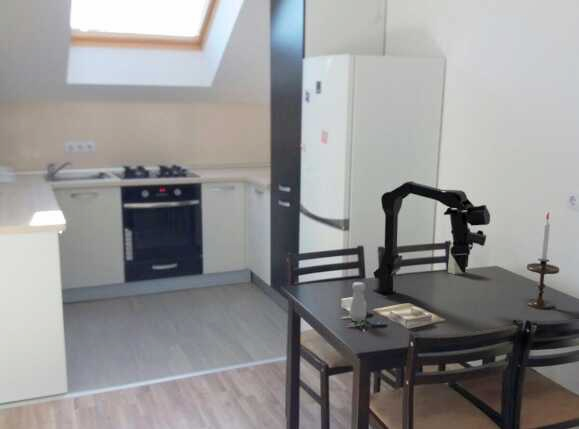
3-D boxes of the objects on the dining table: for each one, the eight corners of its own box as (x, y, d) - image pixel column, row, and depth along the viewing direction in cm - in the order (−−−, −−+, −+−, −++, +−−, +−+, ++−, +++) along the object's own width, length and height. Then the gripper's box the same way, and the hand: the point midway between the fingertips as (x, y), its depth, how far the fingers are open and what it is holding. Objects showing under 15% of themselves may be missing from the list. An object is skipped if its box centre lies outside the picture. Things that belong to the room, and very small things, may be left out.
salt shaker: (365, 323, 198) (366, 286, 196) (348, 322, 199) (349, 285, 197) (366, 317, 204) (368, 281, 201) (350, 316, 205) (351, 280, 202)
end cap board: (373, 310, 210) (373, 302, 210) (408, 304, 218) (409, 296, 217) (407, 328, 194) (408, 319, 193) (444, 321, 201) (445, 312, 201)
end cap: (351, 313, 208) (352, 304, 207) (341, 307, 214) (341, 298, 213) (366, 310, 211) (366, 302, 210) (354, 304, 217) (355, 296, 216)
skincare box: (454, 274, 257) (456, 247, 254) (447, 272, 260) (449, 245, 258) (465, 273, 259) (467, 245, 257) (458, 270, 263) (460, 243, 261)
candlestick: (555, 311, 212) (565, 215, 205) (523, 307, 216) (531, 212, 209) (555, 302, 221) (564, 210, 215) (524, 298, 226) (532, 207, 219)
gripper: (482, 227, 198) (487, 273, 199) (484, 220, 215) (489, 263, 216) (447, 230, 202) (453, 275, 203) (453, 223, 219) (458, 265, 220)
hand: (464, 269), depth 211 cm, fingers open, 9 cm apart
